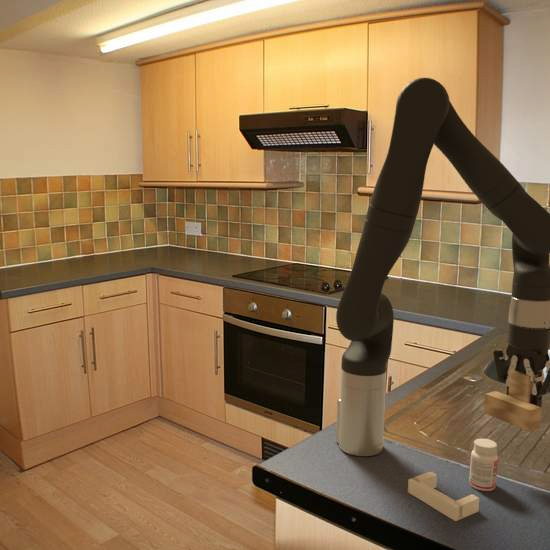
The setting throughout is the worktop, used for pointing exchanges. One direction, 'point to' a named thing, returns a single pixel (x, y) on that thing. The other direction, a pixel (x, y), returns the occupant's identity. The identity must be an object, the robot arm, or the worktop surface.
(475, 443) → the pill bottle
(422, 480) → the bay
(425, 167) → the robot arm
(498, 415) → the scraper
